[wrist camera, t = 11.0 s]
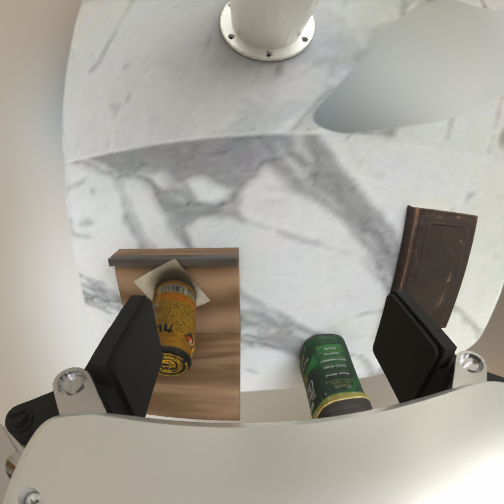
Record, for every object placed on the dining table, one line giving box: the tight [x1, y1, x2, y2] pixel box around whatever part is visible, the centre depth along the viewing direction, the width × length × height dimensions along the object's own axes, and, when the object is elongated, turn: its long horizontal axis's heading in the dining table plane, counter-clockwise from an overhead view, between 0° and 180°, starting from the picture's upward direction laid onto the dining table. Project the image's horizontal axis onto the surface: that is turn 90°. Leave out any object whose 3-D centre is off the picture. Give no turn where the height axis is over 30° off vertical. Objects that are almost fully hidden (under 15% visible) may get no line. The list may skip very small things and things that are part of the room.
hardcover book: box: [390, 205, 478, 328], centre depth 41 cm, size 16×23×2 cm
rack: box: [108, 248, 241, 420], centre depth 33 cm, size 14×18×18 cm
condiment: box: [134, 259, 210, 376], centre depth 32 cm, size 7×8×12 cm
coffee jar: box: [300, 334, 372, 419], centre depth 38 cm, size 10×8×19 cm
